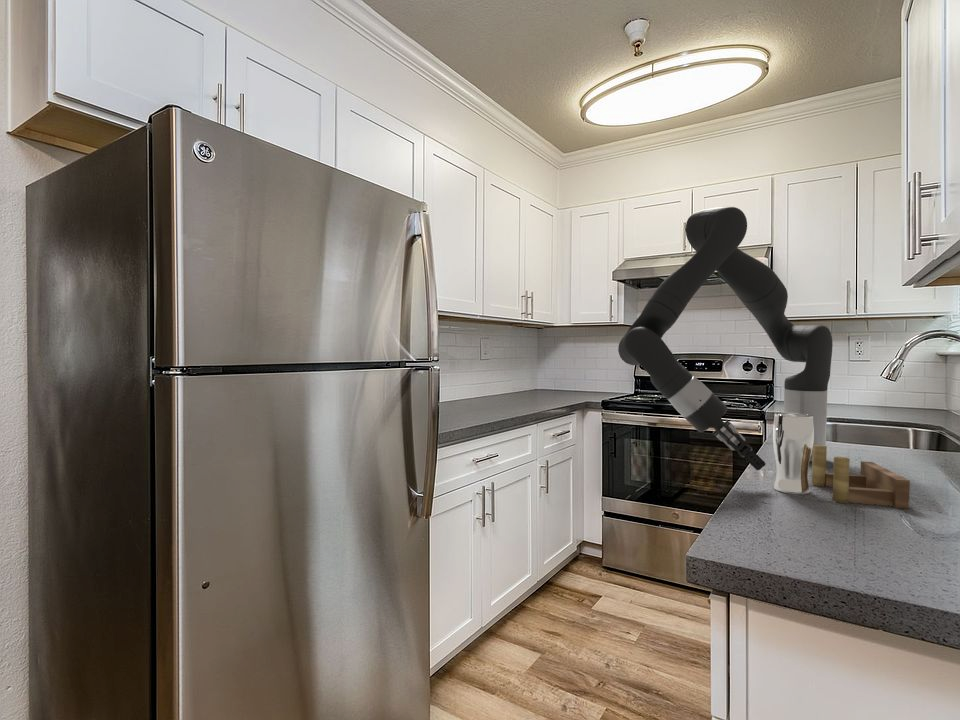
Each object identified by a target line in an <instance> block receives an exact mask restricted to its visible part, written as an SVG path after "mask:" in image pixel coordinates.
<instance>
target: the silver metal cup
mask: <svg viewBox="0 0 960 720" xmlns="http://www.w3.org/2000/svg"><path fill="white" fill-rule="evenodd" d="M773 418H774V419H773V426H772V428H773V429H772V445H773V451H774V457H775V464H776V474H775V476H776V477H775V481H774V483H773V484H774V485H773V489H774V490H776V491H778V492H781V493H784V494H790V495H807V494H810V489H811V488H810V485H809V479H808V478H809V477H808V476H809V475H808V474H809V467H810V463H811V462H810V458H811V454H812V449H813V442H814V426H813V415H810V414H803V413H792V412H784V411H783V412H775V413H774V417H773Z"/></svg>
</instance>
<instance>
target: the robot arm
mask: <svg viewBox="0 0 960 720" xmlns="http://www.w3.org/2000/svg"><path fill="white" fill-rule="evenodd" d="M747 229H748V220H747V217H746V214H745V213H744V211H742V210H741V209H740V208H738V207H735V206H721V207H720V206H719V207H712V208H705V209H701V210H698V211H695V212H693V213H692V214H691V215H690V216H689V217H688V218H687V221H686V223H685V234H686V235H685V236H686V239H687V242H688V243H689V245H690V246H691V247H692V249H693V250H694V251H695V254H694V255H693V256H691V257H690V259H688V260H687V261H686V262H685V263H683V264H682V265H681V266H680V267H679V268H677V269H675V270H674V271H673V272H672V273H671V274H670V275H668V276H667V277H666V278H665V279H664V280H663V281H662V282H661V283H660V284H659V285H658V287H657V288H656V290H655V291H654V292H653V294H652V295H651V296H650V298H649V299H648V301H647V303H646V304H645V306H644V308H643V310H642V311H641V313H640V314H639V316H638V317H637V318H636V320H635V321H634V322H633V323H632V325H631V326H630V327H629V328H628V330H627V331H626V333H625V334H624V335H623V336H622V338H621V339H620V341H619V343H618V349H617V351H618V354H619V358H620V359H621V361H623V362H624V363H625V364H627V365H629V366H641V367H642V368H643V370H644V371H645V372H646V373H647V374H648V375H649V376H650V377H649V378H650V382H651V384H652V385H653V386H654V388H655V389H656V390H657V391H659V393H660V394H661V395H662V396H664V397H665V399H667V400H668V402H669V403H670V404H671V405H672V407H673V408H674V409H675V411H677V412H678V413H679V414H680V415H681V416H682V417H683V418H684V419H685V420H686V421H687V422H688V424H690V425H691V427H693V428H694V429H695V430H696V431H697V432H700V433H703V432H705V431H707V430H709V429H710V428H712V429H713V430H714V431H713V432H712V434H713V435H714V436H715V437H716V438H717V439H718V441H720V442H723V443H724V444H725V445H726V447H728V448H729V449H730V450H731V451H735V452H737V455H739V457H741V458H743V459H745V460H746V462H748V464H750V465H751V466H752V468H754V469H755V470H756V471H760V470H761V469H762V468H765V466H766V462H765V460H764V459H762V457H760V456H759V455H758V454H757V453H756V452H755V450H753V447H752V446H751V445H749V444H748V443H747V442H746V438H745V437H744V436H743V435H742V434H741V433H740V432H739V431H738V430H737V427H736V426H735V425H734V424H733V423H732V422H731V421H729V420H728V419H727V420H725V421H723V420H722V418H723V416H725V414H726V413H727V411H728V406H727V405H726V404H725V403H724V402H723V401H722V400H721V399H720V398H719V397H718V396H717V395H716V394H714V392H713V391H712V390H710V389H709V388H708V386H706V384H704V383H703V382H702V381H700V380H699V379H698V378H696V377H695V376H694V375H693V374H692V373H691V372H690V371H689V370H688V369H687V368H686V367H685V366H684V365H682V364H681V362H679V361H678V360H677V358H676V357H675V355H674V354H673V352H672V351H671V349H670V348H669V346H668V345H667V344H666V343H665V341H664V340H663V337H664V335H665V334H666V333H667V332H668V331H669V330H670V329H671V328H672V327H673V326H674V325H675V324H676V321H678V319H679V317H680V316H681V314H682V313H683V312H684V310H685V308H686V307H687V306H688V304H689V302H690V301H691V300H692V299H693V297H694V296H695V295H696V293H697V292H698V290H699V289H700V288H701V287H702V286H703V285H704V284H705V283H706V281H707V280H708V279H709V278H710V277H711V276H712V275H713V274H714V273H715V272H717V273H718V274H719V275H720V276H721V278H722V279H723V281H724V282H725V283H726V284H727V285H728V286H729V288H730V289H731V290H732V291H733V292H734V294H735V295H736V296H737V298H738V299H739V301H741V303H742V304H743V305H744V306H745V308H746V309H747V310H748V311H749V312H750V313H751V314H752V315H753V317H755V319H756V321H757V322H758V323H759V325H760V326H761V327H762V329H763V330H764V332H765V333H766V334H767V336H768V338H769V339H770V341H771V343H772V344H773V346H774V348H775V350H776V351H777V352H778V354H779V355H780V356H781V357H782V358H783V359H784V360H786V361H789V362H791V363H792V362H793V363H805V364H804V369H803V370H802V371H800V372H799V373H796V374H794V375H790V376H787V377H786V378H785V379H784V384H783V385H784V386H783V387H784V390H783V391H784V392H783V395H784V396H783V412H792V413H803V414H810V415H813V426H814V442H813V445H823V446H826V447H827V425H828V424H827V421H828V419H827V418H828V417H827V415H828V414H827V413H828V386H829V382H830V377H831V368H832V367H831V366H832V356H833V346H834V344H833V336H832V332H831V330H830V329H829V328H828V327H827V326H825V325H821V324H806V325H805V324H804V325H803V324H801V325H798V324H797V325H795V324H794V323H792V322H791V321H790V320H789V319H788V318H787V316H786V315H785V312H786V308H787V305H788V300H789V299H788V298H789V295H788V291H787V288H786V286H785V285H784V283H783V281H782V280H781V279H780V278H779V276H778V275H777V274H776V272H775V271H774V270H773V269H772V268H771V267H769V265H767V264H765V263H764V262H762V261H761V260H758V259H757V258H755V257H753V256H751V255H749V254H748V253H747V252H745V251H743V250H741V249H740V248H739V246H740V245H741V243H742V242H743V240H744V239H745V237H746V234H747ZM812 457H813V449H812V454H811V458H810V463H812Z"/></svg>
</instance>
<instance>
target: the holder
mask: <svg viewBox="0 0 960 720" xmlns="http://www.w3.org/2000/svg"><path fill="white" fill-rule="evenodd" d="M827 449H828V447H827V445H826V446H823V445H813V457H812V462H811V466H812V467H811V468H812V469H811V485H812V484H813V485H812V486H814V485H816V486H815V487H820V486H825V487H826V486H830V487H829V488H832V502H834V501H836V502H835V503H838V502H841V503H840V504H848V503H847V502H853V503H852V504H859V503H862V504H863V505H874V504H876V506H888V505H889V506H891V507H893V508H895V509H896V508H897V509H908V510H909V509H910V484H911V483H910V481H911V480H910V479H908V478H906V477H904V476H901V475H899V474H897V473H896V472H894V471H892V470H889V469H888V468H885V467H883V466H881V465H880V464H877V463H875V462H873V461H865V460H864V461H863V460H862V461H860V474H854V473H850V460H851V459H850V457H845V456H833V471H832V472H827ZM862 504H861V505H862Z"/></svg>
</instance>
